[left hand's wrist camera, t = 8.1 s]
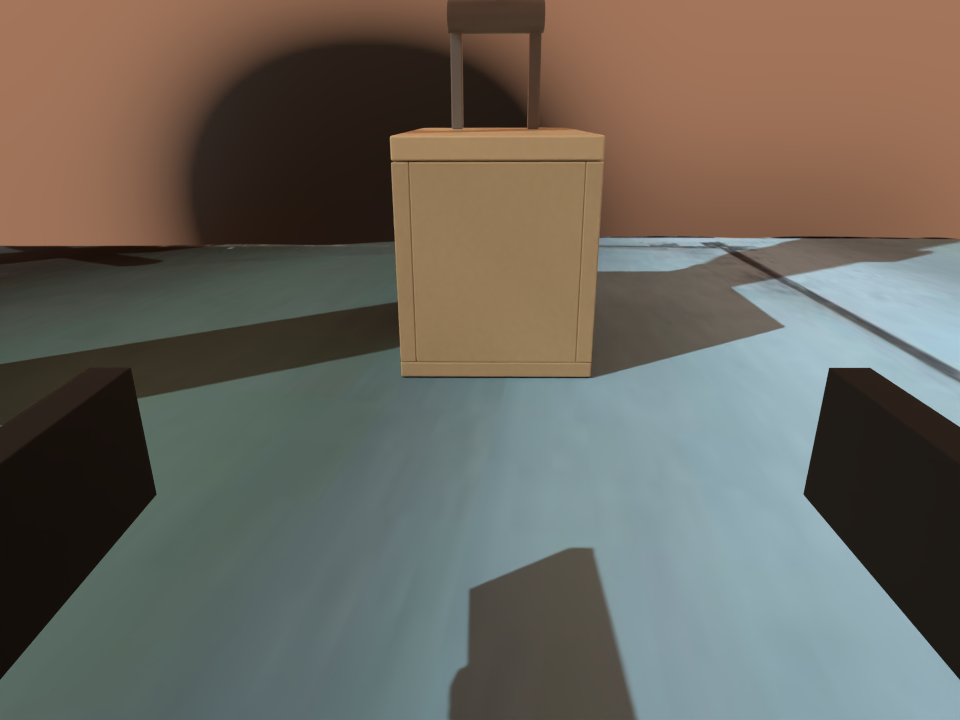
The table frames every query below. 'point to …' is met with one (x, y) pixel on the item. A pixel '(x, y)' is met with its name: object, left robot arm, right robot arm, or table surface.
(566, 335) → the chest
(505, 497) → the table surface
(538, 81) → the lid
